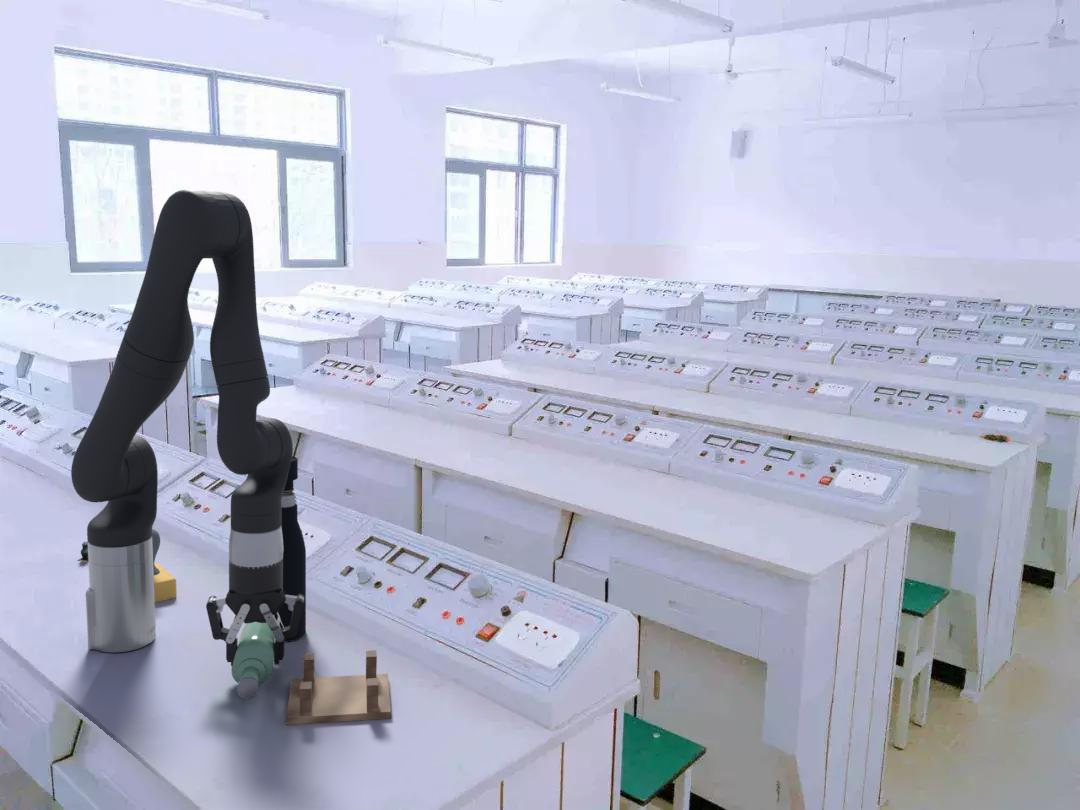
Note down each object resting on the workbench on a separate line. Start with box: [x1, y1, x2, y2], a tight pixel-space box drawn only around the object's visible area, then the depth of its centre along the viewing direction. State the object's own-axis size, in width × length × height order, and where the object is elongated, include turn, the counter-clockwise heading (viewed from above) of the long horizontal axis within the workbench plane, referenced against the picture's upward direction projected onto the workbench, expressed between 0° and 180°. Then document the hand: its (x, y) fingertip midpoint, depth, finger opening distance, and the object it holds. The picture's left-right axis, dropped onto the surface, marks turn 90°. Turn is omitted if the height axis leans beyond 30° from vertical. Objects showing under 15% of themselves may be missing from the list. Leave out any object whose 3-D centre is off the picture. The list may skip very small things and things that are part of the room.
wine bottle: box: [278, 455, 307, 643], centre depth 146 cm, size 6×6×30 cm
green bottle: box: [231, 622, 275, 699], centre depth 130 cm, size 16×6×6 cm, turn 12°
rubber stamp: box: [152, 528, 178, 603], centre depth 162 cm, size 10×6×12 cm, turn 41°
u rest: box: [285, 649, 392, 726], centre depth 128 cm, size 14×11×5 cm
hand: (255, 662), depth 133 cm, fingers closed on green bottle, 5 cm apart
